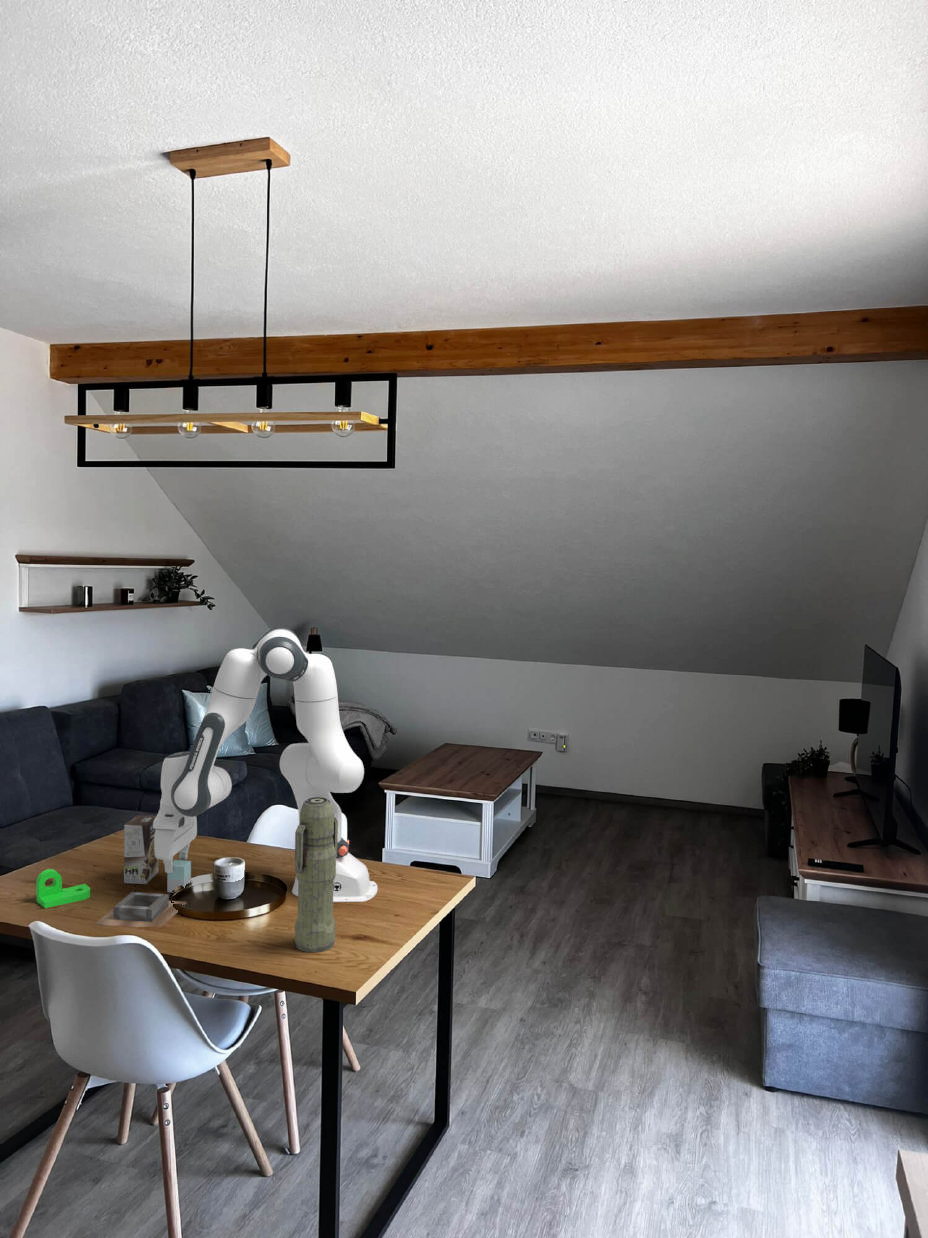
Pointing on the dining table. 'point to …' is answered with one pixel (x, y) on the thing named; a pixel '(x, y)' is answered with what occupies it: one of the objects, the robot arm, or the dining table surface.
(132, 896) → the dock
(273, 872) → the dining table surface
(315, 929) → the thermos
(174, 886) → the pale teal block
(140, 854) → the coffee box
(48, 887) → the mechanical part
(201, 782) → the robot arm
